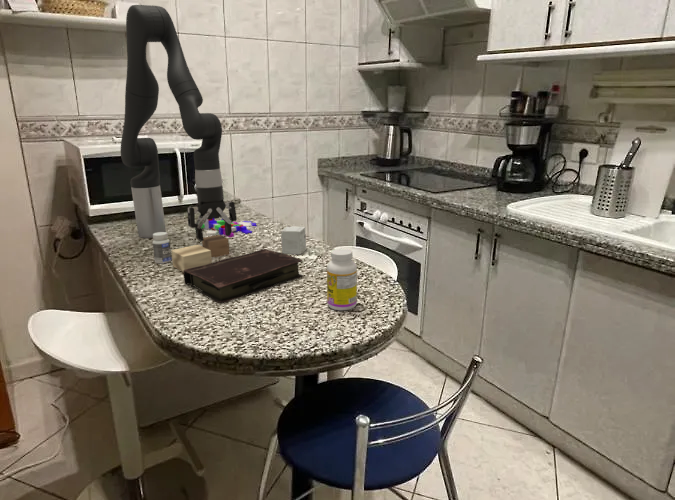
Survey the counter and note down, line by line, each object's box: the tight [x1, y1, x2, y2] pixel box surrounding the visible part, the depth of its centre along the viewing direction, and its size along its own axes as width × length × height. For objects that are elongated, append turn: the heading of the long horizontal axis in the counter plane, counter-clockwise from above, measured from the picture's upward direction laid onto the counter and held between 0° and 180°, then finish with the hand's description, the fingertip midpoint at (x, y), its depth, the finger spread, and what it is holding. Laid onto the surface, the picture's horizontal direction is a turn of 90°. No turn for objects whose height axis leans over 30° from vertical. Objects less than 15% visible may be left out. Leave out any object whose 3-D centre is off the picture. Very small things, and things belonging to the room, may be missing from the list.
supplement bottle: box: [326, 247, 358, 312], centre depth 101 cm, size 7×7×13 cm
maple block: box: [171, 244, 213, 273], centre depth 128 cm, size 8×8×5 cm
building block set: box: [194, 218, 258, 238], centre depth 169 cm, size 25×20×4 cm
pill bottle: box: [151, 231, 172, 264], centre depth 132 cm, size 5×5×8 cm
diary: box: [182, 248, 304, 303], centre depth 118 cm, size 19×25×5 cm
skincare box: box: [280, 225, 307, 255], centre depth 140 cm, size 6×6×7 cm
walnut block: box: [201, 234, 230, 258], centre depth 139 cm, size 6×6×5 cm
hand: (214, 238), depth 138 cm, fingers open, 8 cm apart
